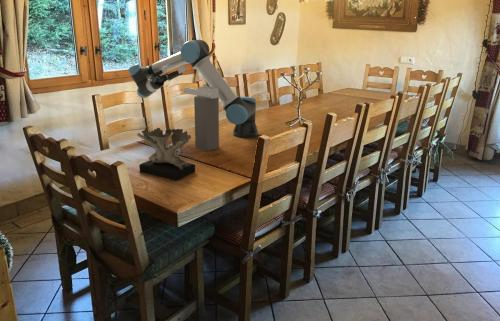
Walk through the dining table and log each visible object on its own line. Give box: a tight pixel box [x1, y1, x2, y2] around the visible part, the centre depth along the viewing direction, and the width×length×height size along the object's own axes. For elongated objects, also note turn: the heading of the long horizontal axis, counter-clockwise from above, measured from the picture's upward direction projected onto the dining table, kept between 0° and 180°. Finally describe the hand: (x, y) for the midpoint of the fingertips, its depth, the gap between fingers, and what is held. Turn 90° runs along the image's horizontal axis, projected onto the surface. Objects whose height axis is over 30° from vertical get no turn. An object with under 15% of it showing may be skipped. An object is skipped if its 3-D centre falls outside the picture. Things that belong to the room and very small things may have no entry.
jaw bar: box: [183, 85, 218, 99], centre depth 217 cm, size 22×5×5 cm, turn 51°
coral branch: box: [166, 142, 184, 157], centre depth 205 cm, size 9×8×10 cm
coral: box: [136, 127, 196, 182], centre depth 182 cm, size 25×20×21 cm
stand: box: [193, 95, 220, 152], centre depth 220 cm, size 9×9×28 cm
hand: (176, 67), depth 224 cm, fingers open, 13 cm apart
